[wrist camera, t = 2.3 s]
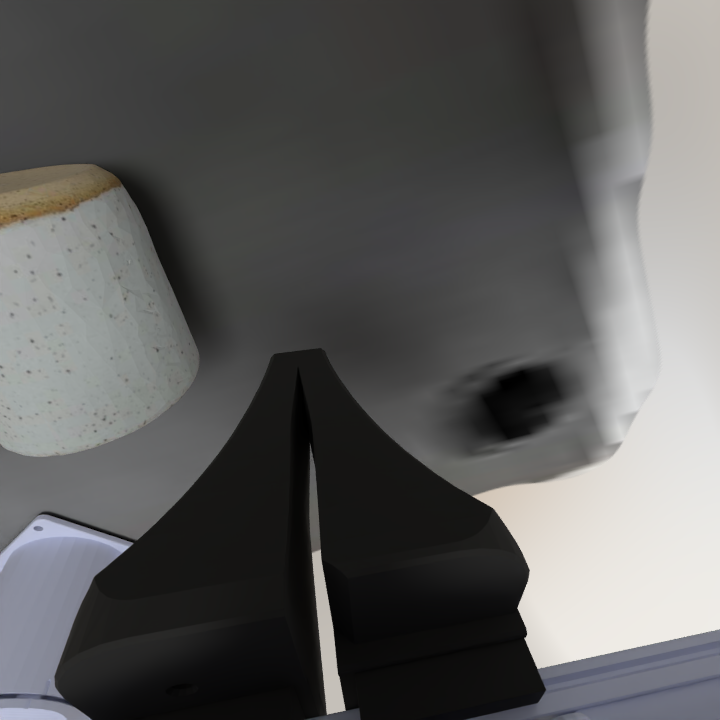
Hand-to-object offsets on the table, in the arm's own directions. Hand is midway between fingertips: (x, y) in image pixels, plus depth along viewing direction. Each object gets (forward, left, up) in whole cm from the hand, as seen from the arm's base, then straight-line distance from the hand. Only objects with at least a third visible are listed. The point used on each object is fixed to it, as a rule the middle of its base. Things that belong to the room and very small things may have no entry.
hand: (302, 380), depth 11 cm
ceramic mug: (-7, +6, -10) cm, 14 cm away
